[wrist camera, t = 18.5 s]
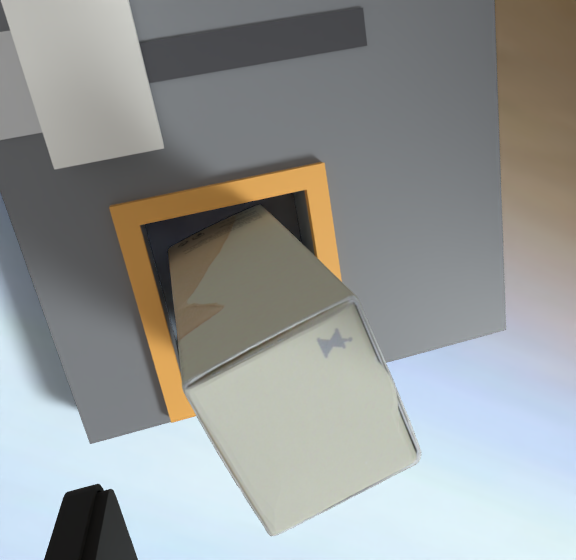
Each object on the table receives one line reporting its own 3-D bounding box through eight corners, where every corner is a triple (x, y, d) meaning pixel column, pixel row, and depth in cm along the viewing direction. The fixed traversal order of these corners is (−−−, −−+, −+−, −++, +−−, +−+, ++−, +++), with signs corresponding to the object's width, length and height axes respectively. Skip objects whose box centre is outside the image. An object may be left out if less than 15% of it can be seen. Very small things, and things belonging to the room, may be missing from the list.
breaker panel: (460, -73, 20) (498, -96, 18) (480, 313, 25) (511, 333, 23) (-48, -2, 17) (-80, -20, 15) (95, 416, 22) (89, 450, 20)
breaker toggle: (122, -25, 16) (114, -54, 13) (163, 142, 18) (164, 148, 15) (19, -11, 16) (-12, -38, 13) (71, 160, 17) (54, 169, 14)
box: (164, 246, 21) (168, 375, 11) (262, 200, 21) (358, 281, 11) (221, 352, 23) (271, 549, 13) (311, 308, 23) (431, 465, 13)
